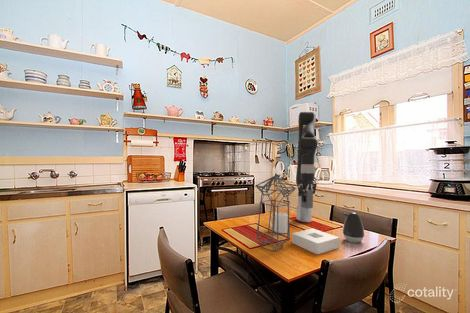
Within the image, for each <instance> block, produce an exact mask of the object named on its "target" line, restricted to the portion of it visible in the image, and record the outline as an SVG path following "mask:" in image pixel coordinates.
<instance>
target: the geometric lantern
mask: <svg viewBox="0 0 470 313" xmlns="http://www.w3.org/2000/svg"><path fill="white" fill-rule="evenodd" d="M284 183H285V184H287V185H288V186H289V187H287V186H286V185H285V184H284ZM262 184H264V185H262ZM272 186H274V187H275V188H276V189H271V187H272ZM254 187H255V188H257V189H258V191H260V193H261V196H260V202H259V212H258V219H257V220H258V222H257V227H256V228H257V229H256V234H255V235H256V238H257V240H258V241H259V242H260V243H261V245H260V247H261V248H262V249H265V250H268V251H270V252H277V251H279V250H281V249H283V248H284V244H286V243H287V242H289V241H291V238H290V237H291V236H290V234H291V230H290V203H289V201H290V200H289V196H291V194H292V193H293V192H294V191H295V190H297V188H296V187H295V186H293V185H292V184H290V183H289V182H287V181H286V180H284V179H282V178H280V177H279V176H278V175H273V176H272V177H269V178H267V179H266V180H263V181H262V182H260V183H258V184H256V185H254ZM269 191H270V192H269ZM276 192H279V194H278V195H277V196H276V197H275V199H273V198H272V197H271V195H273V194H274V193H276ZM281 194H282V198H281V199H280V200H277V199H278V198H279V196H280V195H281ZM264 196H267V197H268V200H263V199H264ZM284 198H286V201H287V202H285V201H283V199H284ZM264 202H270V204H269V203H268V204H267V203H264ZM273 202H274V203H273ZM276 202H278V203H277V204H276ZM280 203H283V204H282V205H280ZM262 205H266V206H270V211H269V217H270V219H271V216H272V215H273V218H272V219H271V220H272V223H271V224H272V227H271V226H270V222H271V221H270V219H269V218H268V219H269V223H268V229H267V232H263V233H261V234H259V231H260V222H261V212H262ZM285 206H287V214H288V228H287V233H286V235H284V234H283V235H282V234H281V233H278V213H279V208H281V207H285ZM275 213H277V232H275V231H274V227H275ZM273 225H274V226H273ZM270 227H271V231H270ZM265 234H267V235H268V238H267V239H263V238H261V237H259V236H263V235H265ZM270 234H271V237H270ZM274 235H276V239H274ZM279 236H280V237H283V238H285V239H283V241H280V240H279ZM274 241H275V242H276V243H274ZM265 245H266V246H269V247H271V248H272V249H270V248H266V247H264V246H265ZM274 245H275V246H274ZM278 247H279V248H278ZM277 248H278V249H277Z"/></svg>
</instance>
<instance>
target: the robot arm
mask: <svg viewBox="0 0 470 313" xmlns="http://www.w3.org/2000/svg"><path fill="white" fill-rule="evenodd" d="M316 121H317V118H316V113H315V112H314V111H301V112H299V114H298V144H297V165H296V174H295V175H296V176H295V184H296V185H297V190H298V192H297V206H296V220H297V221H298V222H302V223H310V222H312V210H313V208H308V209H307V208H303V207H301V195H302V202H306V192H307V191H308V190H313V195H315V193H316V190H317V185H318V184H317V183H314V180H315V156H316V155H315V154H316V151H317V147H318V144H319V142H318V139H317V137H315V127H316Z"/></svg>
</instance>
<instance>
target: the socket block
mask: <svg viewBox="0 0 470 313" xmlns="http://www.w3.org/2000/svg"><path fill="white" fill-rule="evenodd" d="M291 243H292V245H293V244H294V245H296V246H298V247H300V248H303V249H304V250H306V251H309V252H311V253H314V254H315V255H321V254H323V253H328V252H330V251H333V250H336V249H339V248H340V236H337V235H333V234H331V233H327V232H324V231H321V230H318V229H315V228H309V229H304V230H301V231H296V232H292V233H291Z"/></svg>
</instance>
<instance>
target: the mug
mask: <svg viewBox="0 0 470 313" xmlns="http://www.w3.org/2000/svg"><path fill="white" fill-rule="evenodd" d="M269 219H270V216H269V218H268V220H267V221H268V222H267V223H268V224H269ZM271 220H273V214H271V219H270V227H271V228H272V223H271ZM273 226H274V225H273ZM287 228H288V212H279V211H278V234H281V235H282V234H283V235H285V234H287ZM274 233H277V212H275V227H274Z"/></svg>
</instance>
